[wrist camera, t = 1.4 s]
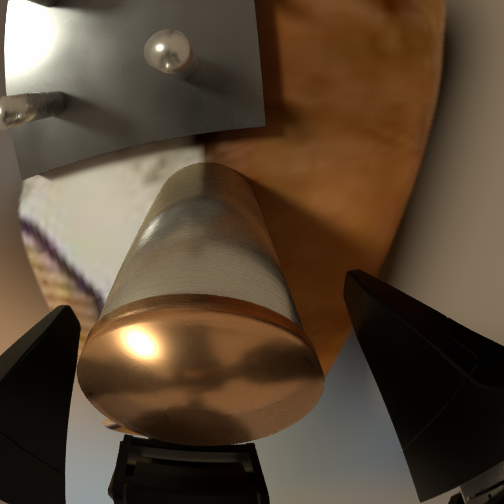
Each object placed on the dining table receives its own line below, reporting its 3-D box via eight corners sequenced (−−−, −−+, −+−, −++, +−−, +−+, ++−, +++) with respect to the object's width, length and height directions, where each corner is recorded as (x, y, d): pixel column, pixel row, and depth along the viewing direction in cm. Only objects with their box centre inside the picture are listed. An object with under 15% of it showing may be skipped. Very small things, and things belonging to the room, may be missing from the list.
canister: (262, 251, 15) (312, 431, 7) (166, 263, 15) (135, 445, 6) (254, 154, 12) (340, 296, 4) (144, 170, 12) (30, 327, 4)
